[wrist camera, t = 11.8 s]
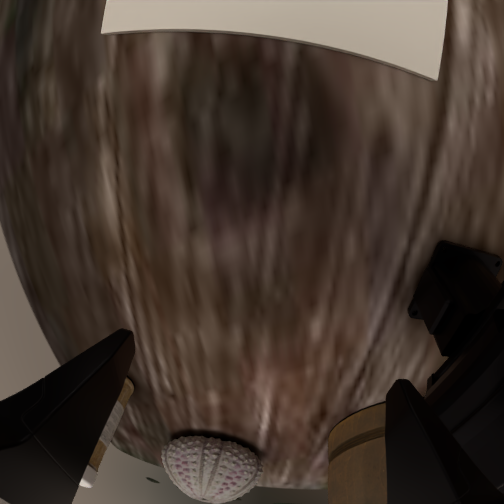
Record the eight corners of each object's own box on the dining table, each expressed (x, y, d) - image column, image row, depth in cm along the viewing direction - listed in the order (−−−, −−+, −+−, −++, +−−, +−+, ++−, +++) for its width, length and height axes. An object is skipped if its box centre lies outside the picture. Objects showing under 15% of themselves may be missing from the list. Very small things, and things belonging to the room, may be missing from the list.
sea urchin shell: (284, 457, 36) (279, 509, 29) (219, 473, 42) (210, 515, 35) (208, 416, 32) (192, 476, 25) (150, 437, 38) (133, 483, 31)
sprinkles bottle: (98, 379, 32) (50, 470, 21) (101, 360, 30) (46, 460, 18) (132, 397, 33) (91, 492, 21) (139, 379, 31) (92, 485, 19)
